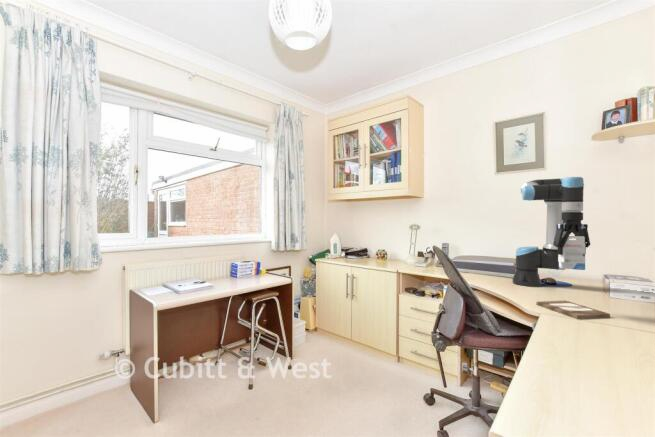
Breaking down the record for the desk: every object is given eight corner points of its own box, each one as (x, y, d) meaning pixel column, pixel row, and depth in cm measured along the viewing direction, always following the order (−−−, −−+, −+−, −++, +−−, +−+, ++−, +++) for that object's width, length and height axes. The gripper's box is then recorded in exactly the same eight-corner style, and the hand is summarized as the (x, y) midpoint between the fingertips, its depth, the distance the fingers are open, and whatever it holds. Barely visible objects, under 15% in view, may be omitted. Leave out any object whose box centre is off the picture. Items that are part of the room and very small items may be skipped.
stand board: (536, 304, 143) (536, 301, 143) (565, 303, 146) (565, 299, 146) (577, 319, 124) (577, 314, 124) (609, 317, 126) (609, 313, 126)
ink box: (582, 268, 135) (582, 235, 135) (585, 270, 130) (585, 236, 130) (558, 267, 139) (558, 235, 139) (560, 268, 134) (561, 235, 134)
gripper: (558, 211, 129) (557, 263, 129) (602, 211, 132) (601, 262, 132) (543, 211, 136) (542, 260, 137) (585, 212, 140) (584, 260, 140)
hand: (571, 261), depth 134 cm, fingers closed on ink box, 9 cm apart
